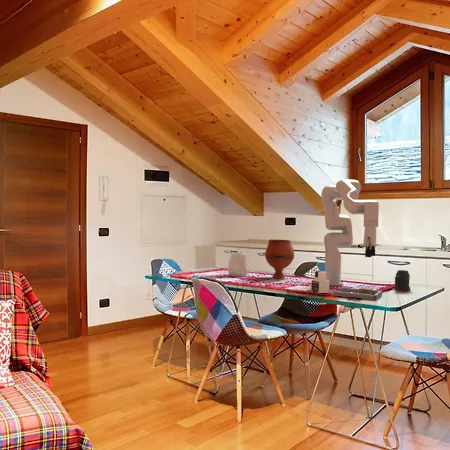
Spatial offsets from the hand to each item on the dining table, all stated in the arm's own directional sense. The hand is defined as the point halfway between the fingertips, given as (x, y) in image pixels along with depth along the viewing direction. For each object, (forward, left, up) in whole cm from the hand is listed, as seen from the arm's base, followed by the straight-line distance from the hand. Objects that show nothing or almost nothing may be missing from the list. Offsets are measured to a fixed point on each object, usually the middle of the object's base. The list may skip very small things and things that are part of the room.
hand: (370, 256), depth 264 cm
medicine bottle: (-26, -4, -22) cm, 34 cm away
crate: (-2, -2, -21) cm, 22 cm away
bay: (-6, -2, -21) cm, 22 cm away
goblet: (-67, +37, -22) cm, 79 cm away
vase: (-94, +31, -22) cm, 101 cm away
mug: (+11, +30, -22) cm, 39 cm away
